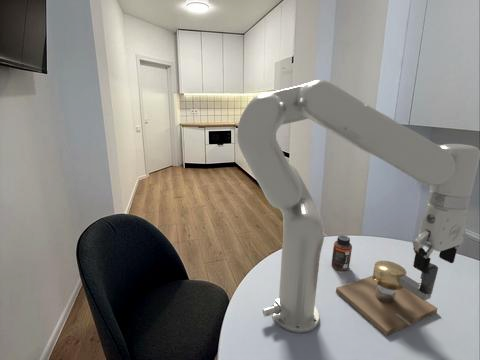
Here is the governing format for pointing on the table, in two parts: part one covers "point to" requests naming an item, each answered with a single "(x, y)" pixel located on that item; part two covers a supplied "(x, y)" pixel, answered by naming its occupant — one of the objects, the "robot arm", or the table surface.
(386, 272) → the brass hub lever
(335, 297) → the table surface
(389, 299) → the steel post
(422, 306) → the walnut base
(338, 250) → the supplement bottle
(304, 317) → the robot arm
